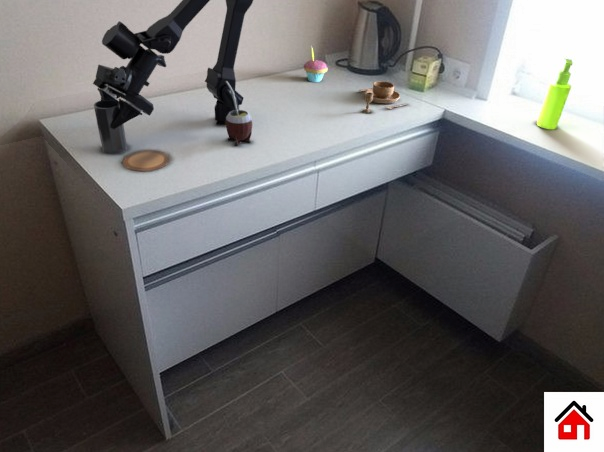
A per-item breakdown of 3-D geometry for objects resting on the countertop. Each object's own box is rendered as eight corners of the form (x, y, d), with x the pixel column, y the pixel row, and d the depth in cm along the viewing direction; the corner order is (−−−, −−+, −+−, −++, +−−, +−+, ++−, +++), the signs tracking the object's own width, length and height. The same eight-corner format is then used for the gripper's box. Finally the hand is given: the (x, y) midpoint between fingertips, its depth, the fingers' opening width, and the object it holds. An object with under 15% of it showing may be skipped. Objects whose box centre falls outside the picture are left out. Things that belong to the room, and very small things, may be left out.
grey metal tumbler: (130, 144, 130) (122, 100, 123) (123, 154, 125) (115, 109, 118) (106, 143, 129) (98, 99, 123) (99, 153, 124) (90, 108, 118)
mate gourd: (248, 148, 131) (247, 93, 123) (219, 144, 132) (217, 89, 124) (255, 137, 137) (255, 83, 129) (228, 133, 138) (226, 80, 130)
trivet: (173, 151, 127) (173, 151, 127) (163, 172, 118) (163, 171, 118) (129, 150, 127) (129, 149, 127) (117, 170, 118) (117, 169, 118)
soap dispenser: (555, 122, 158) (578, 59, 147) (557, 130, 152) (580, 65, 141) (535, 119, 159) (557, 56, 148) (536, 127, 154) (558, 62, 143)
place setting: (413, 104, 165) (416, 87, 162) (367, 114, 155) (369, 96, 152) (378, 88, 177) (380, 71, 174) (333, 97, 167) (335, 79, 164)
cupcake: (301, 82, 178) (303, 48, 171) (305, 75, 185) (307, 42, 178) (325, 84, 177) (327, 50, 170) (327, 77, 184) (330, 44, 177)
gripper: (93, 43, 121) (59, 97, 120) (135, 60, 111) (99, 119, 110) (126, 69, 130) (95, 119, 130) (168, 87, 121) (135, 142, 120)
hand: (105, 124), depth 122 cm, fingers closed on grey metal tumbler, 6 cm apart
